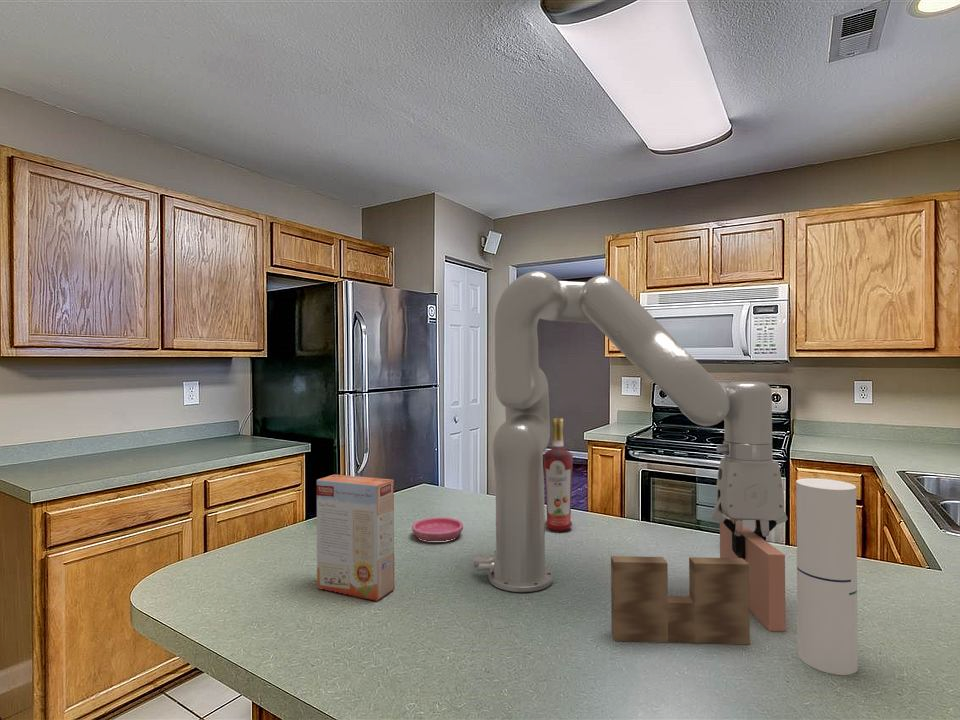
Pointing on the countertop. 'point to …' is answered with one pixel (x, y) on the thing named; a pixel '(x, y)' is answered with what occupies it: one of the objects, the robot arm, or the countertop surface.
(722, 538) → the terracotta slotted plate
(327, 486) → the cracker box
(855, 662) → the cylindrical container
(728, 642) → the walnut slotted plate
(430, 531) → the saucer
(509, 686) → the countertop surface
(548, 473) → the liquor
